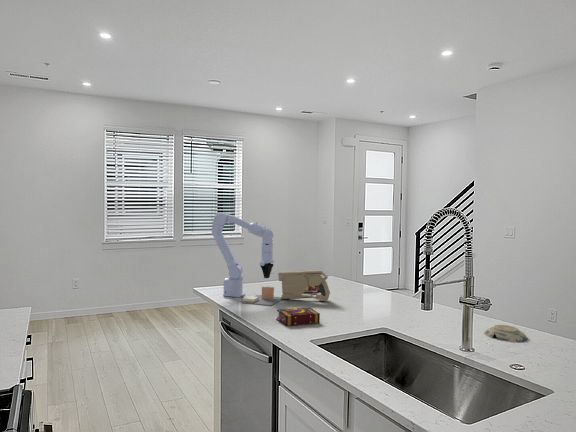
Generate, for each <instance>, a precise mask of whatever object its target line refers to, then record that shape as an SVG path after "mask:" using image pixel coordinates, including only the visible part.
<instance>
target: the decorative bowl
mask: <svg viewBox="0 0 576 432" xmlns="http://www.w3.org/2000/svg"><path fill="white" fill-rule="evenodd" d="M483 334H484V335H485V336H486V337H488V338H489V339H493V338H494V336H495V337H496V341H501V342H507V343H523V342H526V341H529V340H528V339H529V338H528V336H527V335H526V334H525V333H524V332H523V331H521V330H519V329H518V328H517V327H515V326H512V325H506V324H495V325H494V326H492V327H490V328H488V329H486V330H485V332H484V333H483Z"/></svg>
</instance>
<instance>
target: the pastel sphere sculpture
mask: <svg viewBox="0 0 576 432" xmlns="http://www.w3.org/2000/svg"><path fill="white" fill-rule="evenodd" d="M318 286H319V285H318ZM318 286H316V288H315V286H308V287H307V288H306V290H305V291H304V292H303V293H318V292H320V291H319V289H320V288H319V287H318ZM320 293H321V292H320Z"/></svg>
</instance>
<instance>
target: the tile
mask: <svg viewBox="0 0 576 432" xmlns="http://www.w3.org/2000/svg"><path fill="white" fill-rule="evenodd" d="M261 295H262V299H271V300H273V299H274V297H275V287H274V286H267V285H266V286H265V285H263V286H261Z"/></svg>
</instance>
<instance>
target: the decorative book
mask: <svg viewBox="0 0 576 432" xmlns="http://www.w3.org/2000/svg"><path fill="white" fill-rule="evenodd" d="M276 311H277V312H278V316H277V317H276V319H275V320H276V321H279V322H281V323H282V324H283V325H285V327H286V326H287V327H288V326H293V327H295V326H296V327H297V326H299V325H308V326H309V325H313V324H320V323H321V321H320V319H321V318H320V316H321V315H320V312H318V311H316V310H315V309H314V308H312V307H311V306H306V307H304V306H303V307H299V308H298V307H291V308H278V309H276Z"/></svg>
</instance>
